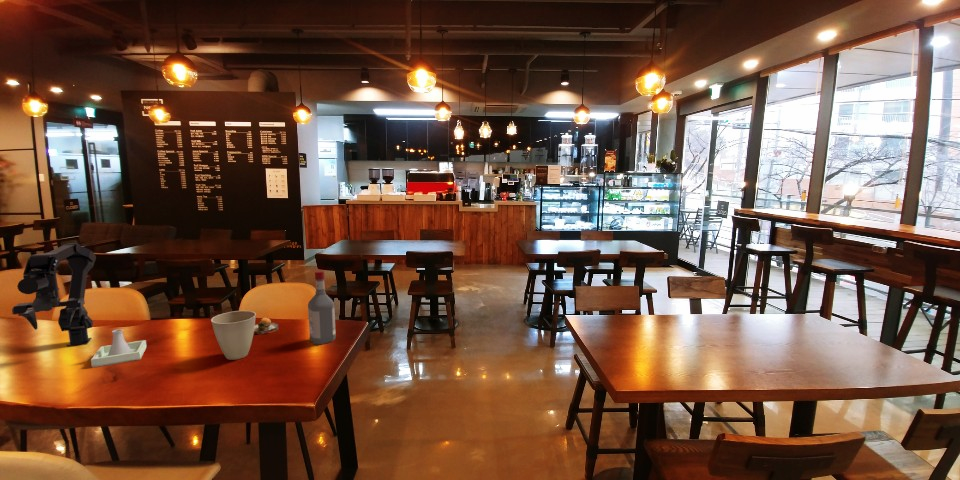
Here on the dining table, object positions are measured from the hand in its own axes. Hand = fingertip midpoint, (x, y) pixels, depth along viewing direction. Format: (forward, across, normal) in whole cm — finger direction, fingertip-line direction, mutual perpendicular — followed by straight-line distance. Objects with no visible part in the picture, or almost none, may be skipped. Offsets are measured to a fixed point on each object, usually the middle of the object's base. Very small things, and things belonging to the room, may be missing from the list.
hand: (52, 327), depth 163 cm
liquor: (+12, +92, -31) cm, 98 cm away
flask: (+12, +21, -11) cm, 26 cm away
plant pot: (+12, +60, -32) cm, 69 cm away
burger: (+12, +71, -5) cm, 72 cm away
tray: (+12, +21, -11) cm, 27 cm away
